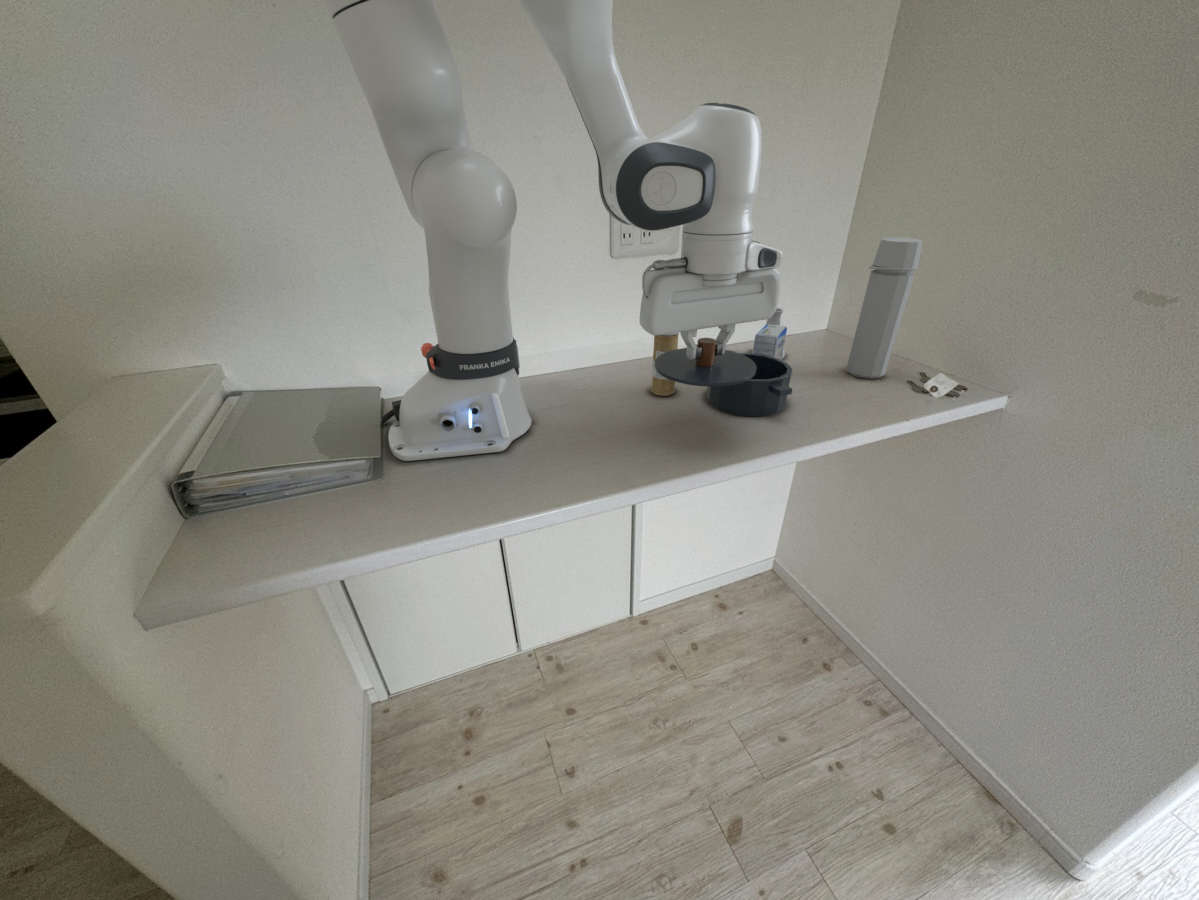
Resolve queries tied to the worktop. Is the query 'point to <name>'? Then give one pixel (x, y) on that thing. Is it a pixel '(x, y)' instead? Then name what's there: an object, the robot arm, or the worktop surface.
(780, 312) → the flask
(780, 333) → the medicine box
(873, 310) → the water bottle
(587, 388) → the worktop surface
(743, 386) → the pan
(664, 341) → the sprinkles bottle
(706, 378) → the pan lid
